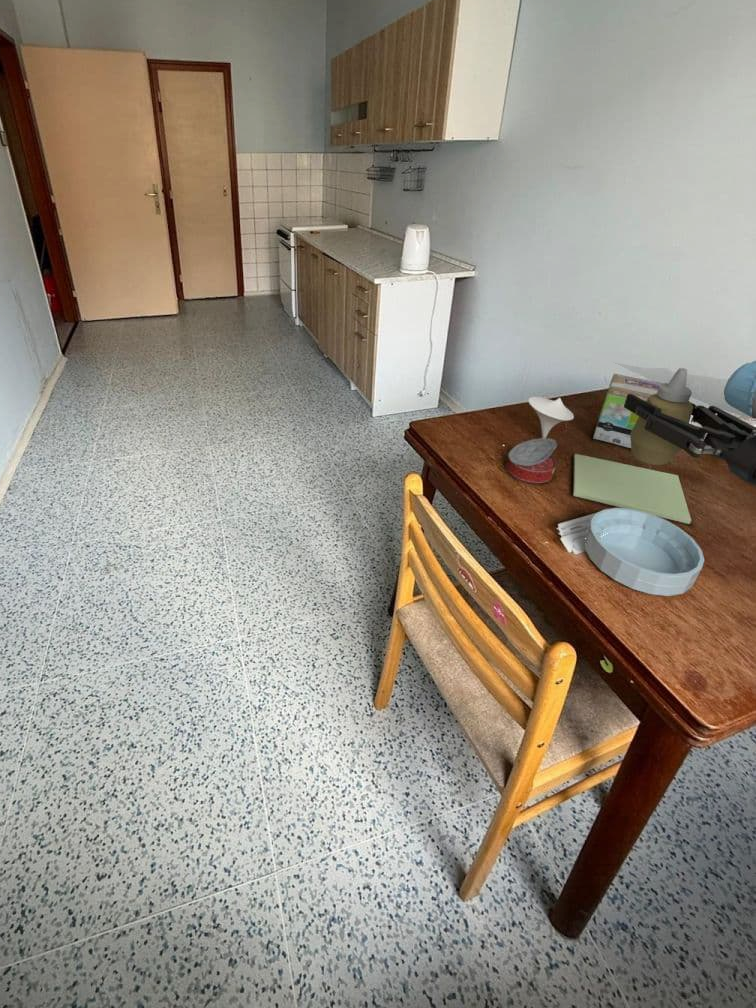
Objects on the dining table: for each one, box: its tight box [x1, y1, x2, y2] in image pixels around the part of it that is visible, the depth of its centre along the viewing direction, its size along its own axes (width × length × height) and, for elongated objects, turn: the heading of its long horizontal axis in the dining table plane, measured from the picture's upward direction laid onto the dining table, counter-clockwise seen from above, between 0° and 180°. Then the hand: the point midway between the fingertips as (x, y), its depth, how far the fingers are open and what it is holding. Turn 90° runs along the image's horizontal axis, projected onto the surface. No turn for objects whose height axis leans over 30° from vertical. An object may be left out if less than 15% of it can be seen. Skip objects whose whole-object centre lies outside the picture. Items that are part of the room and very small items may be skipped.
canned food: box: [505, 437, 558, 484], centre depth 106 cm, size 11×10×10 cm
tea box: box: [592, 373, 664, 449], centre depth 114 cm, size 15×10×15 cm, turn 55°
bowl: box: [584, 507, 705, 597], centre depth 82 cm, size 16×16×5 cm
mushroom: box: [527, 396, 575, 438], centre depth 115 cm, size 10×11×12 cm
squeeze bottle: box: [630, 367, 693, 466], centre depth 84 cm, size 8×8×18 cm
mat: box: [572, 453, 692, 525], centre depth 101 cm, size 20×16×1 cm
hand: (643, 398), depth 88 cm, fingers closed on squeeze bottle, 6 cm apart
